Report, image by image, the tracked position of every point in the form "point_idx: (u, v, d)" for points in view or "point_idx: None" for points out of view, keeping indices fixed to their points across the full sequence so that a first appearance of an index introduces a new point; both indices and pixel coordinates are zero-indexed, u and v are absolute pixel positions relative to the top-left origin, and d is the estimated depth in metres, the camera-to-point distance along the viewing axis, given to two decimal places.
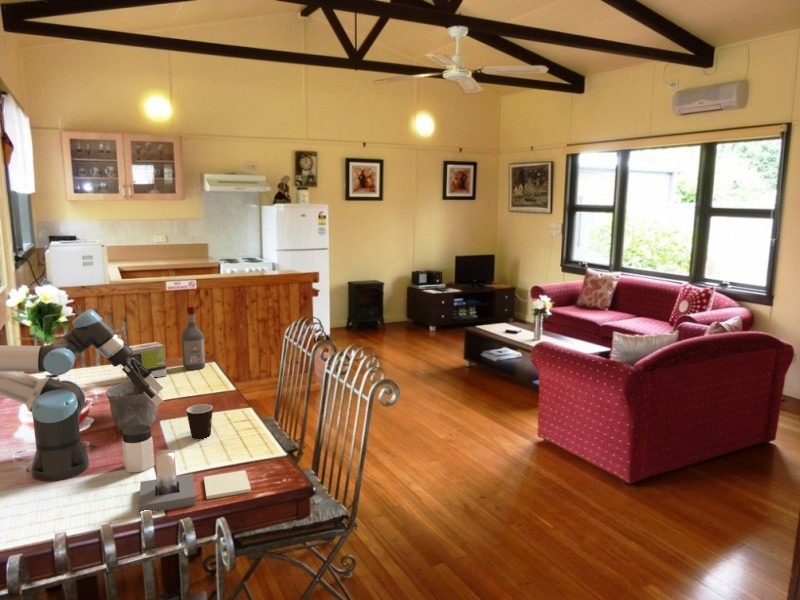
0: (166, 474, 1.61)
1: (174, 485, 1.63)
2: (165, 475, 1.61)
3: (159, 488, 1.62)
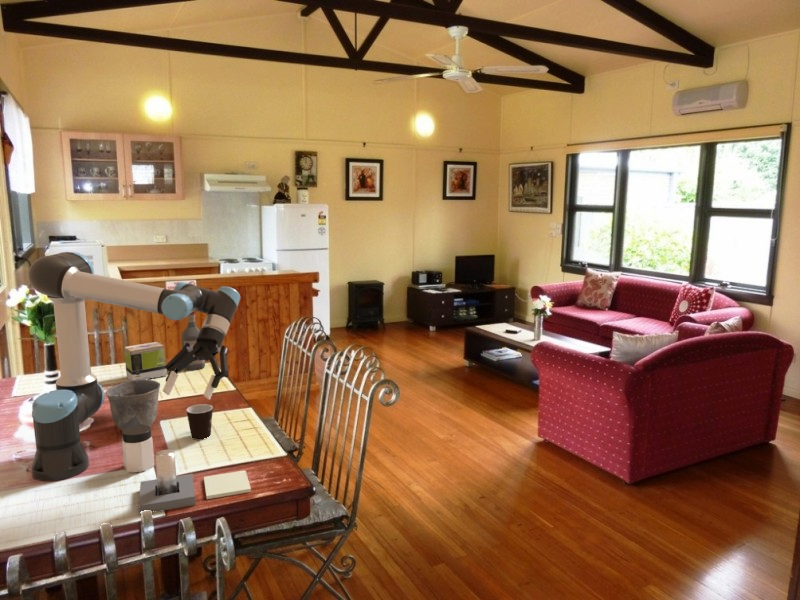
0: (166, 474, 1.61)
1: (174, 485, 1.63)
2: (165, 475, 1.61)
3: (159, 488, 1.62)
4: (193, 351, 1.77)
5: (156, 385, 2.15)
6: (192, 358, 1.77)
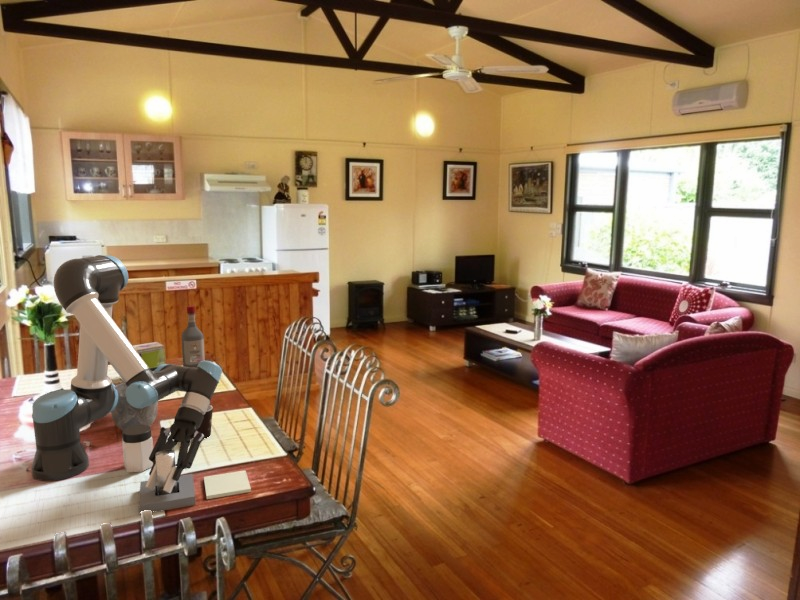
0: (166, 474, 1.61)
1: (174, 485, 1.63)
2: (165, 475, 1.61)
3: (159, 488, 1.62)
4: (172, 435, 1.67)
5: None
6: (172, 442, 1.68)
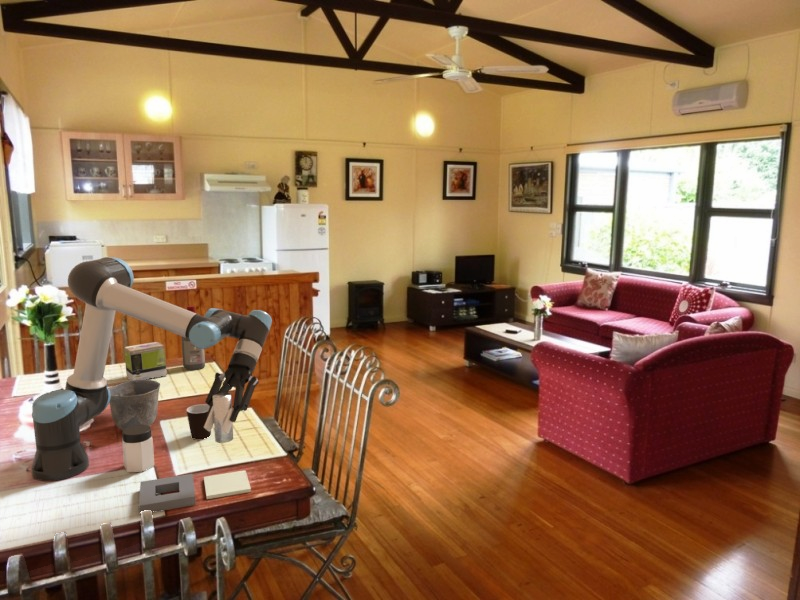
0: (223, 415, 1.65)
1: (231, 427, 1.67)
2: (222, 417, 1.65)
3: (216, 429, 1.66)
4: (227, 379, 1.71)
5: (156, 385, 2.15)
6: (227, 387, 1.72)
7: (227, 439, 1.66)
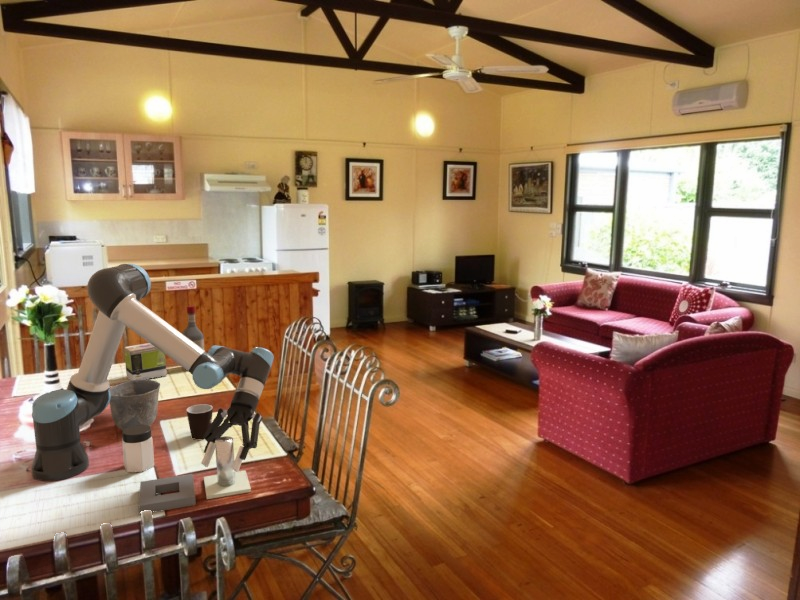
0: (226, 459, 1.67)
1: (233, 470, 1.70)
2: (225, 461, 1.67)
3: (219, 473, 1.68)
4: (228, 417, 1.74)
5: (156, 385, 2.15)
6: (228, 424, 1.74)
7: (229, 483, 1.69)
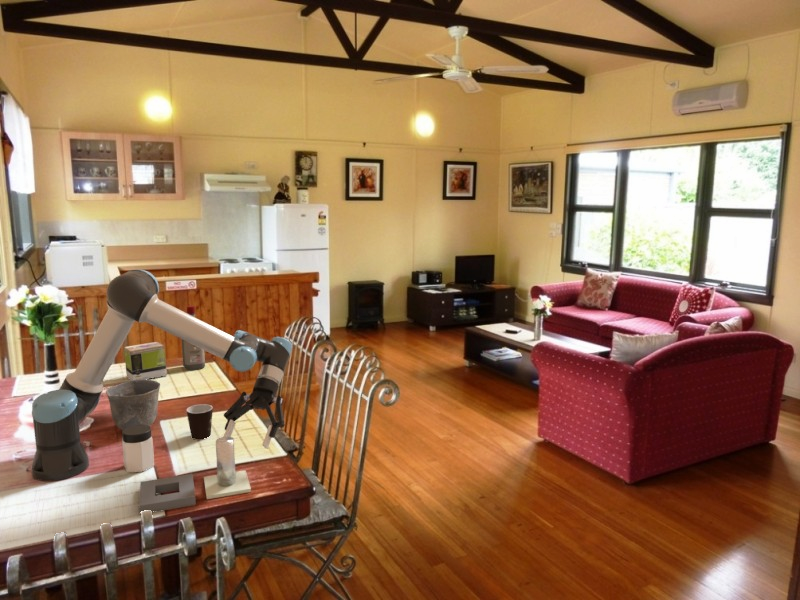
0: (226, 459, 1.67)
1: (233, 471, 1.70)
2: (225, 461, 1.67)
3: (219, 473, 1.68)
4: (250, 401, 1.86)
5: (156, 385, 2.15)
6: (249, 407, 1.87)
7: (229, 483, 1.69)
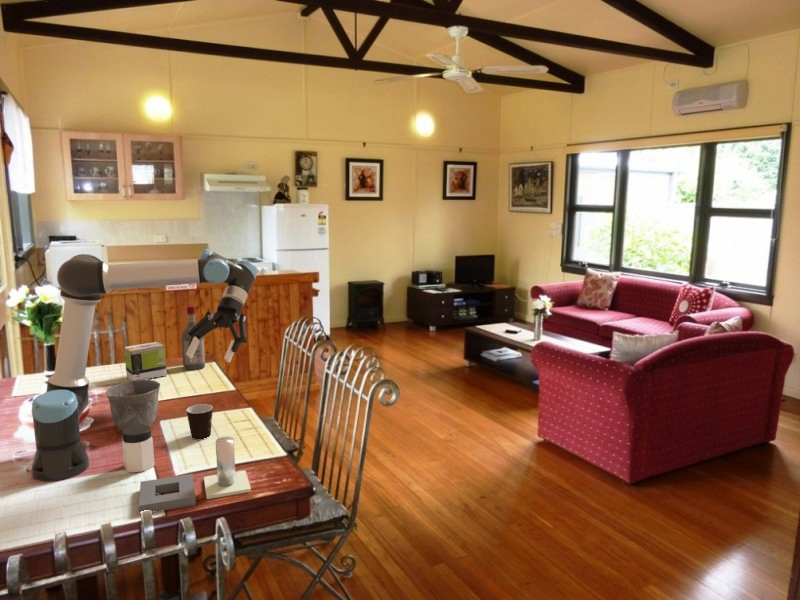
0: (226, 459, 1.67)
1: (233, 471, 1.70)
2: (225, 461, 1.67)
3: (219, 473, 1.68)
4: (214, 319, 1.90)
5: (156, 385, 2.15)
6: (212, 325, 1.91)
7: (229, 483, 1.69)
